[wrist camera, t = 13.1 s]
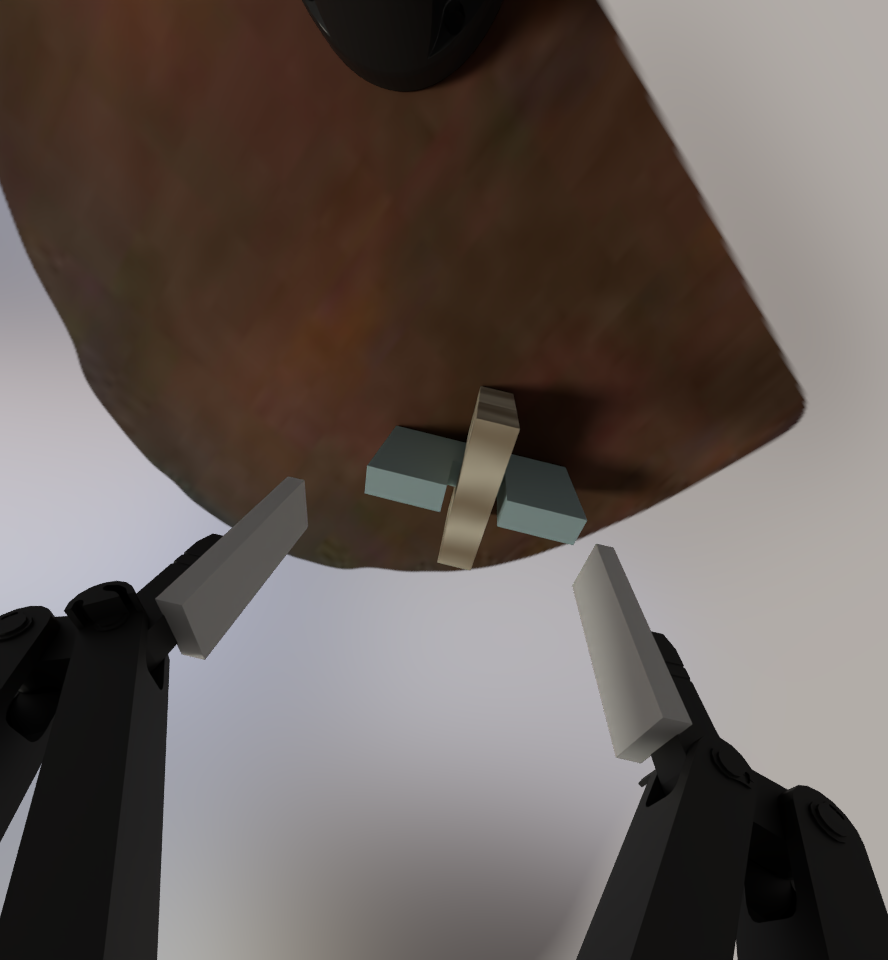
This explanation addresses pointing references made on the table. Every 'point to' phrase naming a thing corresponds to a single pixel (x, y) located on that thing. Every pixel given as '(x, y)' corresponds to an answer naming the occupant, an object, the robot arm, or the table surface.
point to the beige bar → (479, 476)
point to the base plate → (437, 462)
